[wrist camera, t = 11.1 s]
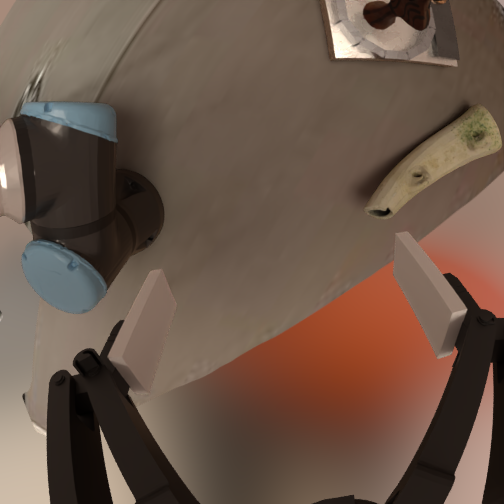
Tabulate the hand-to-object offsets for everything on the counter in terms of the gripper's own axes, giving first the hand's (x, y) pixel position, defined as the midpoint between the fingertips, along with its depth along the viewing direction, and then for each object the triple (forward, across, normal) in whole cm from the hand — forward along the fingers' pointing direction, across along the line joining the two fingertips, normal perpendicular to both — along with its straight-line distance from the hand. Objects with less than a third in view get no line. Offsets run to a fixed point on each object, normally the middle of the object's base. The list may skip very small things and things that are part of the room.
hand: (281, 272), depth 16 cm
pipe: (+32, +26, -4) cm, 41 cm away
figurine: (+28, +19, +19) cm, 39 cm away
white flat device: (+32, +22, +20) cm, 43 cm away
